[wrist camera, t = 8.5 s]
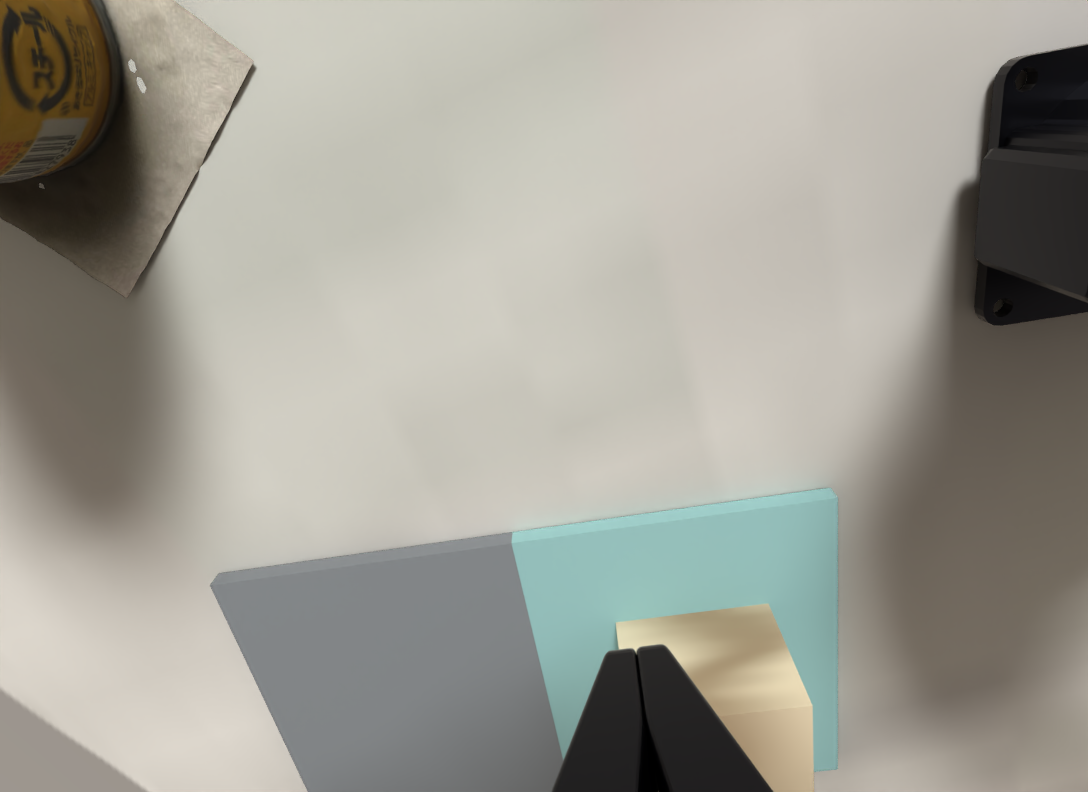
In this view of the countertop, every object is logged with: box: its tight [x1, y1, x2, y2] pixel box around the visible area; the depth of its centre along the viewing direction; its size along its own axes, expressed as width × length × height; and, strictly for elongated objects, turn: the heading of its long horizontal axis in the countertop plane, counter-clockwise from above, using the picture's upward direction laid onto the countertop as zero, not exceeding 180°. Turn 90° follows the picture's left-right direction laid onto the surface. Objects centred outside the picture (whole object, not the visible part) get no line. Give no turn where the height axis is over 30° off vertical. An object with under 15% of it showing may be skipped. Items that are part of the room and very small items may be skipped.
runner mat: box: [210, 488, 838, 792], centre depth 23 cm, size 20×12×1 cm, turn 100°
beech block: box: [616, 604, 814, 792], centre depth 21 cm, size 5×5×4 cm
